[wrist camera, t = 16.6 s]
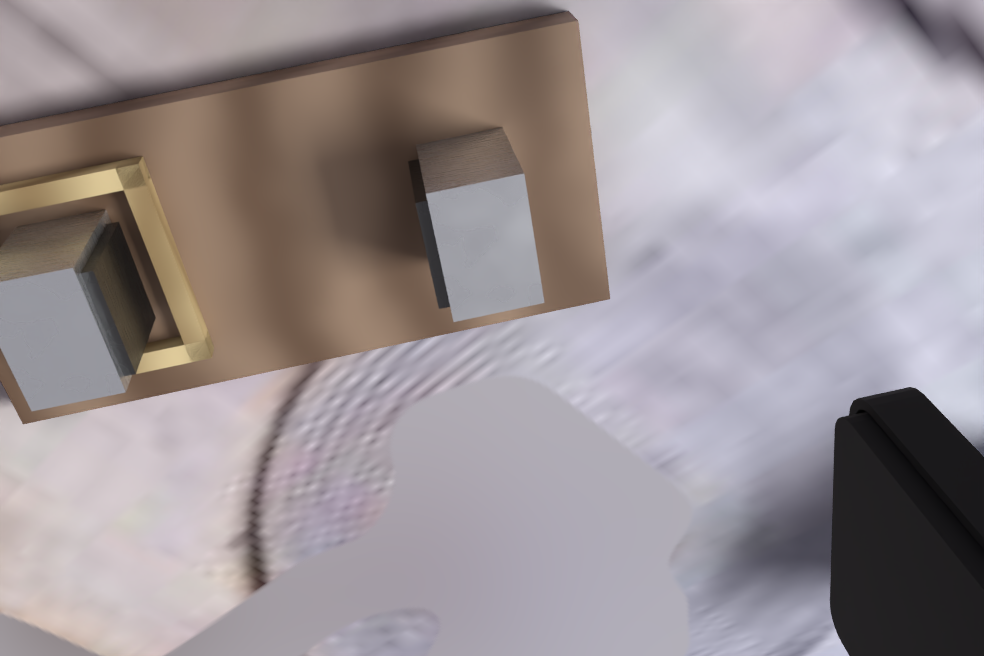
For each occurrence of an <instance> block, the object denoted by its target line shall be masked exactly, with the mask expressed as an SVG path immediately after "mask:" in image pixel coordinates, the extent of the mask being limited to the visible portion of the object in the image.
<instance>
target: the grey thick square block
mask: <svg viewBox="0 0 984 656" xmlns="http://www.w3.org/2000/svg"><path fill="white" fill-rule="evenodd" d="M155 319H156V317H155V314H154V312H153V309H152V306H151V304H150V301H149V299H148V296H147V293H146V291H145V288H144V286H143V283H142V280H141V278H140V275H139V273H138V270H137V268H136V265H135V262H134V260H133V257H132V255H131V252H130V249H129V247H128V244H127V242H126V239H125V236H124V234H123V231H122V229H121V226H120V224H119V222H114V223H111V221H110V218H109V216H108V213H107V211H106V209H105V210H100V211H94V212H89V213H84V214H79V215H74V216H69V217H63V218H58V219H53V220H48V221H43V222H37V223H32V224H27V225H22V226H17V227H16V228H15V229H14V230H13V232H12V233H11V234H10V236H9V237H8V238H7V240H6V241H5V242H4V244H3V245H2V246H1V248H0V348H1V350H2V352H3V355H4V357H5V359H6V361H7V363H8V365H9V367H10V369H11V371H12V373H13V375H14V377H15V379H16V381H17V383H18V385H19V387H20V389H21V391H22V393H23V395H24V397H25V399H26V401H27V403H28V405H29V407H30V409H31V411H36V410H41V409H46V408H51V407H56V406H61V405H66V404H71V403H76V402H81V401H86V400H91V399H96V398H101V397H106V396H111V395H116V394H121V393H126V391H127V388H128V385H129V382H130V380H131V377H132V375H134V374H136V372H137V369H138V367H139V364H140V361H141V358H142V355H143V353H144V350H145V347H146V344H147V341H148V338H149V336H150V333H151V330H152V327H153V324H154V322H155Z"/></svg>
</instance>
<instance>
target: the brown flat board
mask: <svg viewBox="0 0 984 656" xmlns="http://www.w3.org/2000/svg"><path fill="white" fill-rule="evenodd" d="M501 127H503V129H504V132H505V134H506V136H507V138H508V140H509V142H510V144H511V146H512V148H513V151H514V153H515V155H516V157H517V159H518V161H519V163H520V165H521V168H522V170H523V172H524V175H525V181H526V188H527V194H528V201H529V207H530V213H531V220H532V226H533V233H534V239H535V245H536V252H537V258H538V265H539V271H540V277H541V284H542V290H543V297H544V303H541V304H537V305H532V306H527V307H523V308H518V309H513V310H509V311H504V312H499V313H495V314H490V315H485V316H480V317H476V318H471V319H466V320H462V321H457V322H453V317H452V313H451V308H450V307H447V308H442V309H439V307H438V303H437V298H436V294H435V289H434V285H433V280H432V276H431V271H430V267H429V262H428V258H427V253H426V249H425V244H424V240H423V235H422V231H421V226H420V222H419V218H418V213H417V209H416V204H415V199H414V193H413V187H412V181H411V176H410V170H409V164H408V161H412V160H417V159H419V158H418V153H417V148H416V145H418V144H423V143H428V142H433V141H438V140H442V139H447V138H452V137H457V136H462V135H467V134H472V133H476V132H481V131H486V130H491V129H496V128H501ZM105 209H106V211H107V213H108V216H109V218H110V221H111V223H114V222H119V224H120V226H121V229H122V231H123V234H124V236H125V239H126V242H127V244H128V247H129V249H130V252H131V255H132V257H133V260H134V262H135V265H136V268H137V270H138V273H139V275H140V278H141V280H142V283H143V286H144V288H145V291H146V293H147V296H148V299H149V301H150V304H151V306H152V309H153V312H154V314H155V317H156V319H155V322H154V324H153V327H152V330H151V333H150V336H149V338H148V341H147V344H146V347H145V350H144V353H143V355H142V358H141V361H140V364H139V367H138V369H137V372H136V374H134V375H132V377H131V380H130V382H129V385H128V388H127V391H126V393H121V394H116V395H111V396H106V397H101V398H96V399H91V400H86V401H81V402H76V403H71V404H66V405H61V406H56V407H51V408H46V409H41V410H36V411H31V409H30V407H29V405H28V403H27V401H26V399H25V397H24V395H23V393H22V391H21V389H20V387H19V385H18V383H17V381H16V379H15V377H14V375H13V373H12V371H11V369H10V367H9V365H8V363H7V361H6V359H5V357H4V355H3V352H2V350H1V348H0V381H1V383H2V385H3V387H4V388H5V390H6V392H7V394H8V396H9V398H10V400H11V402H12V404H13V406H14V408H15V410H16V411H17V413H18V415H19V417H20V419H21V421H22V423H23V424H27V423H31V422H36V421H41V420H45V419H50V418H55V417H59V416H64V415H69V414H73V413H78V412H83V411H87V410H92V409H97V408H102V407H106V406H111V405H116V404H120V403H125V402H130V401H134V400H139V399H144V398H148V397H153V396H158V395H162V394H167V393H172V392H177V391H181V390H186V389H191V388H195V387H200V386H205V385H209V384H214V383H219V382H223V381H228V380H233V379H237V378H242V377H247V376H252V375H256V374H261V373H266V372H270V371H275V370H280V369H284V368H289V367H294V366H298V365H303V364H308V363H312V362H317V361H322V360H326V359H331V358H336V357H341V356H345V355H350V354H355V353H359V352H364V351H369V350H373V349H378V348H383V347H387V346H392V345H397V344H401V343H406V342H411V341H416V340H420V339H425V338H430V337H434V336H439V335H444V334H448V333H453V332H458V331H462V330H467V329H472V328H476V327H481V326H486V325H491V324H495V323H500V322H505V321H509V320H514V319H519V318H523V317H528V316H533V315H537V314H542V313H547V312H551V311H556V310H561V309H565V308H570V307H575V306H580V305H584V304H589V303H594V302H598V301H603V300H608V299H610V293H609V285H608V276H607V267H606V259H605V250H604V241H603V232H602V224H601V215H600V206H599V198H598V189H597V180H596V171H595V163H594V154H593V145H592V137H591V128H590V119H589V111H588V102H587V93H586V84H585V76H584V67H583V58H582V50H581V41H580V32H579V23H578V20H577V19H576V18H575V17H574V16H573V15H572V14H571V13H570V12H569V11H567V12H562V13H557V14H552V15H547V16H542V17H537V18H532V19H527V20H522V21H517V22H512V23H508V24H503V25H498V26H493V27H488V28H483V29H478V30H473V31H468V32H463V33H458V34H453V35H448V36H443V37H438V38H433V39H428V40H423V41H418V42H414V43H409V44H404V45H399V46H394V47H389V48H384V49H379V50H374V51H369V52H364V53H359V54H354V55H349V56H344V57H339V58H334V59H329V60H324V61H320V62H315V63H310V64H305V65H300V66H295V67H290V68H285V69H280V70H275V71H270V72H265V73H260V74H255V75H250V76H245V77H240V78H235V79H230V80H226V81H221V82H216V83H211V84H206V85H201V86H196V87H191V88H186V89H181V90H176V91H171V92H166V93H161V94H156V95H151V96H146V97H141V98H136V99H131V100H127V101H122V102H117V103H112V104H107V105H102V106H97V107H92V108H87V109H82V110H77V111H72V112H67V113H62V114H57V115H52V116H47V117H42V118H37V119H33V120H28V121H23V122H18V123H13V124H8V125H3V126H0V248H1V246H2V245H3V244H4V242H5V241H6V240H7V238H8V237H9V236H10V234H11V233H12V232H13V230H14V229H15V228H16V227H17V226H22V225H27V224H32V223H37V222H43V221H48V220H53V219H58V218H63V217H69V216H74V215H79V214H84V213H89V212H94V211H100V210H105Z"/></svg>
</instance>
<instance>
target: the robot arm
mask: <svg viewBox="0 0 984 656" xmlns="http://www.w3.org/2000/svg"><path fill="white" fill-rule="evenodd" d="M830 609H831V615H832V619H833V622H834V626H835V629H836V631H837V634H838V636H839V638H840V640H841V642H842V644H843V645H844V647H845V649H846V651H847V652H848V654H849V656H984V457H983V456H982V455H981V453H980V452H979V451H978V450H977V449H976V448H975V447H974V446H973V445H972V444H971V443H970V442H969V441H968V440H967V439H966V438H965V437H964V436H963V435H962V434H961V433H960V432H959V431H958V430H957V429H956V427H955V426H954V425H953V424H952V423H951V422H950V421H949V420H948V419H947V418H946V417H945V416H944V415H943V414H942V413H941V412H940V411H939V410H938V409H937V408H936V407H935V406H934V405H933V404H932V402H931V401H930V400H929V399H928V398H927V397H926V396H925V395H924V394H923V393H921V392H920V391H919V390H917V389H915V388H911V387H908V388H904V389H899V390H895V391H890V392H886V393H881V394H876V395H872V396H867V397H863V398H858V399H856V400H854V401H853V403H852V405H851V407H850V413H849V416H845V417H841V418H839V419H838V420H837V422H836V425H835V441H834V477H833V514H832V550H831V586H830Z"/></svg>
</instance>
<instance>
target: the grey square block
mask: <svg viewBox="0 0 984 656" xmlns="http://www.w3.org/2000/svg"><path fill="white" fill-rule="evenodd" d="M416 148H417V153H418V158H419V159H417V160H412V161H408V164H409V170H410V176H411V181H412V187H413V193H414V199H415V204H416V209H417V213H418V218H419V222H420V226H421V231H422V235H423V240H424V244H425V249H426V253H427V258H428V262H429V267H430V271H431V276H432V280H433V285H434V289H435V294H436V298H437V303H438V307H439V309H442V308H447V307H450V308H451V313H452V317H453V322H457V321H462V320H466V319H471V318H476V317H480V316H485V315H490V314H495V313H499V312H504V311H509V310H513V309H518V308H523V307H527V306H532V305H537V304H541V303H544V297H543V290H542V284H541V277H540V271H539V265H538V258H537V252H536V245H535V239H534V233H533V226H532V220H531V213H530V207H529V201H528V194H527V188H526V181H525V175H524V172H523V170H522V168H521V165H520V163H519V161H518V159H517V157H516V155H515V153H514V151H513V148H512V146H511V144H510V142H509V140H508V138H507V136H506V134H505V132H504V129H503V127H501V128H496V129H491V130H486V131H481V132H476V133H472V134H467V135H462V136H457V137H452V138H447V139H442V140H438V141H433V142H428V143H423V144H418V145H416Z"/></svg>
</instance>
